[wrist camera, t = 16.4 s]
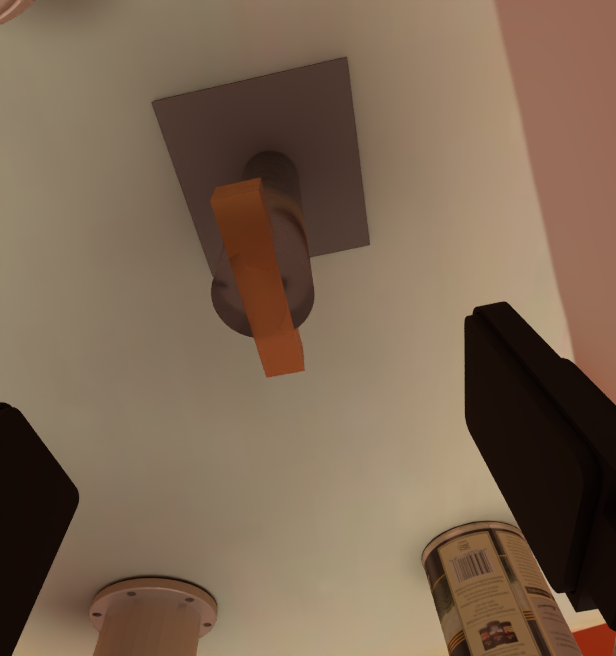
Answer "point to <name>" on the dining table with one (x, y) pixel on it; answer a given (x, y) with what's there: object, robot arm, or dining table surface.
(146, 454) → the dining table surface
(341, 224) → the mat
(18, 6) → the spinning top
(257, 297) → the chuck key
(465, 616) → the coffee can
